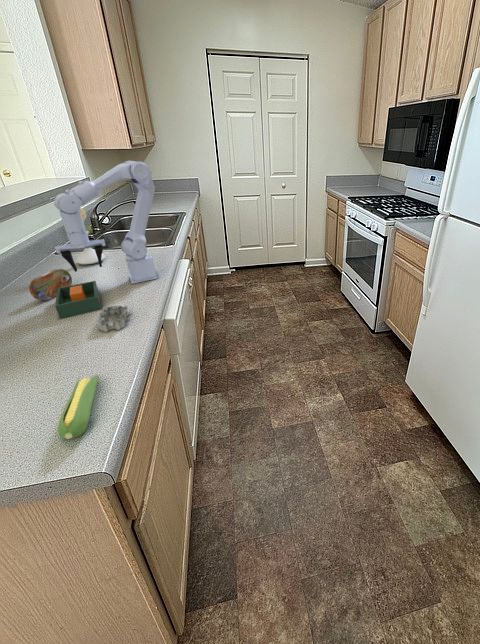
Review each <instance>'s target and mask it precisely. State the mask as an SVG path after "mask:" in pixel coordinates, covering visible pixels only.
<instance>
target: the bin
mask: <svg viewBox="0 0 480 644" xmlns="http://www.w3.org/2000/svg"><path fill="white" fill-rule="evenodd" d="M79 285H82V287H83V290H84V293H85V295H86V299H82V300H77V301H73V302H72V300H71V297H70V287H74V286H79ZM100 295H101V294H100V291H99V286H98V284H97V281H96V280H92V281H87V282H82V283H77V284H71V286H66V287H61V288H58V289H57V296H56V297H55V305H54V307H55V309H56V312H57V315H58V317H59V320H60V319H64V318H69V317H73V316H78V315H82V314H85V313H90V312H94V311H99V310H102V303H101V296H100Z"/></svg>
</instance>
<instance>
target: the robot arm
mask: <svg viewBox="0 0 480 644" xmlns="http://www.w3.org/2000/svg"><path fill="white" fill-rule="evenodd" d="M119 180H129V181H130V182H132V183H133V184H134V186H135V187H136V189H137V196H136V200H135V204H134V209H133V214H132V216H131V217H132V218H131V222H130V226H129V230H128V231H127V233H126V234H125V237H124V239H123V240H122V242H121V243H120V250H121V251H122V252H123V253H124V254H125V261H126V265H127V269H128V272H129V281H130V283H131V285H133V284H138V283H142V282H148V281H152V280H156V279H158V275H157V269H156V267H155V262H154V259H153V256H152V255H151V254H147V253H148V250H147V238H146V235H145V234H146V230H147V226H148V222H149V219H150V218H149V217H150V212H151V208H152V205H153V201H154V196H155V192H156V188H155V184H154V181H153V180H154V179H153V172H152V170H151V169H150V168H149V166H148V164H146V163H145V162H143V161H136V160H135V161H134V160H131V159H129V160H125V161H124V162H122V163H119V164H117V165H116V166H114V167H112V168H111V169H110V170H107V171H106V172H105V173H103V174H102V175H100V176H99V177H96V179H95V180H93V181H90V180H84V181H83V180H79V181H78V182H77V183H78V184H77V185H75V186H74V187H72V188H70V189H68V188H67V189H65V191H64V192H65V193H59V194H57V195H56V197H55V198H54V203H53V204H54V206H55V208H56V209H57V210H58V211H59V215H60V217H61V221H62V224H63V227H64V230H65V233H66V236H67V238H68V239H67V240H68V241H69V243H66V244H63V245H57V246H55V247H54V249H55V252H56V254H61V257H62V258H63V259H64V260H65V261H66V262H67V263H68V264H69V265H70V267H72V269H73V271H74V272H78V268H77V267H78V266H77V264H76V262H75V261H74V257H73V255H72V254H73V253H72V251H78V250H84V249H85V248H94V250H95V252H96V255H97V258H98V262H97V263H98V265H99V268H102V267H103V265H102V261H101V257H102V253H103V250H104V248H103V247H105V246H107V245H106V241H105V239H104V238H102V239H91V240H90V238H89V234H88V235H87V232H86V231H87V230H86V229H85V226H86V224H85V225H84V223H85V221H84V222H83V219H82V216H81V214H80V211H79V210H80V208H81V207H83V206H85V205H86V204H88V203H89V202H92V201H93V200H95V199H96V198H98V197H99V196H100V192H101V190H103V189H105V188H106V187H108V186H110V185H112V184H115V183H116V182H118V181H119Z"/></svg>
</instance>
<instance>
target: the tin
mask: <svg viewBox="0 0 480 644" xmlns="http://www.w3.org/2000/svg"><path fill="white" fill-rule="evenodd" d="M71 285H73V278H72V275H71V273H70V272H69V271H67V270H66V269H64V268H56V269H52V270H50V271H47V272H46V273H43V274H41V275H39V276H37V277H35V278H33V279H32V280H31V281H30V283H29V287H28V290H29V292H30V295H31V296H32V297H33V298H34V299H36V300H39V301H50V300H52V299H54V298H56V297H57V289H58V288H61V287H66V286H71Z"/></svg>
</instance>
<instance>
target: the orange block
mask: <svg viewBox="0 0 480 644" xmlns="http://www.w3.org/2000/svg"><path fill="white" fill-rule="evenodd" d="M70 297H71V300H72V302H73V301H77V300H82V299H86V295H85V293H84V290H83V287H82V285H79V286H74V287H70Z"/></svg>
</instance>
